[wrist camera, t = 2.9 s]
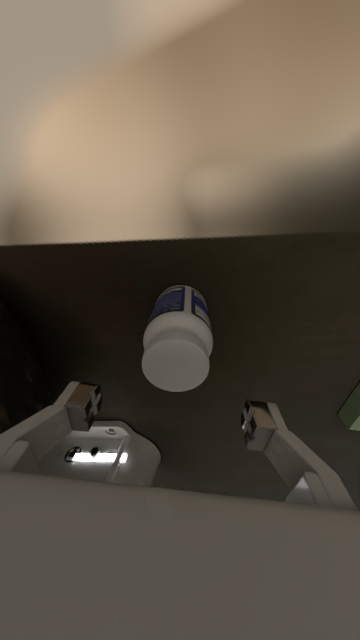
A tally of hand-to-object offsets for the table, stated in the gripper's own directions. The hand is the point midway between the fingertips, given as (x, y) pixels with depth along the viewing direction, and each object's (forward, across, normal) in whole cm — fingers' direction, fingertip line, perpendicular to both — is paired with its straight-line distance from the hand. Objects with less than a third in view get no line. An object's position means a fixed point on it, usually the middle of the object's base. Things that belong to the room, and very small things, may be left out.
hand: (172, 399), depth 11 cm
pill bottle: (+13, 0, 0) cm, 13 cm away
